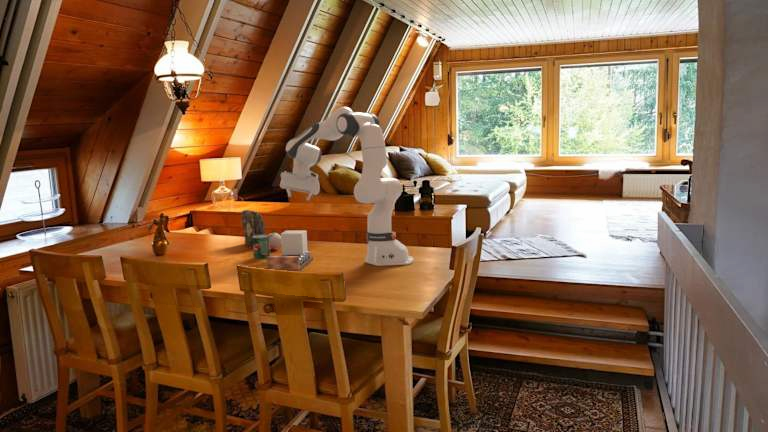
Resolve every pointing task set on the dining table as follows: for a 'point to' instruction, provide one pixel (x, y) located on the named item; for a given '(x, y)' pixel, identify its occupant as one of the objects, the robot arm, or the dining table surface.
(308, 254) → the rollers
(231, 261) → the dining table surface
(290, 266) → the roller bed
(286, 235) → the pale grey cube
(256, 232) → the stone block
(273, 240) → the decorative fruit
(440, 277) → the dining table surface
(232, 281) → the dining table surface
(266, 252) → the canned tomato
